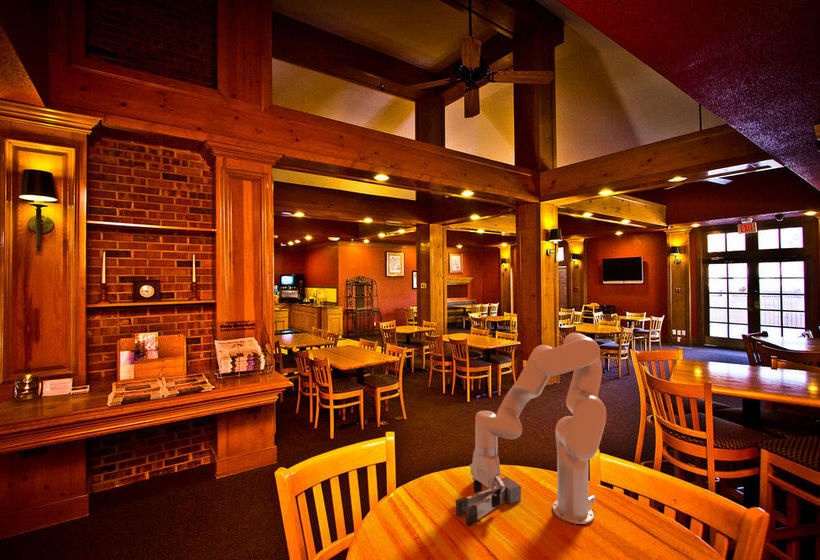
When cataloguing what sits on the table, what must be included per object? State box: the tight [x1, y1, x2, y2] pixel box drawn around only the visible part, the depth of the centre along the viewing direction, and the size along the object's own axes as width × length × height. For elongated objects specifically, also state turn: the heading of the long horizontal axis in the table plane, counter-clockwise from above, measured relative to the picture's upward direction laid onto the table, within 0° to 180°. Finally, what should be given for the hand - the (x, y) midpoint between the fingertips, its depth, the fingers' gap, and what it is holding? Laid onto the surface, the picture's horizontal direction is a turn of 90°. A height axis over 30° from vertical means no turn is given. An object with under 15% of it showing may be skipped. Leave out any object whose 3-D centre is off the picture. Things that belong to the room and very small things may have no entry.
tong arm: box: [465, 492, 506, 527], centre depth 124 cm, size 19×1×5 cm, turn 130°
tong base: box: [455, 476, 522, 518], centre depth 128 cm, size 24×7×6 cm, turn 119°
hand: (486, 498), depth 128 cm, fingers open, 8 cm apart
